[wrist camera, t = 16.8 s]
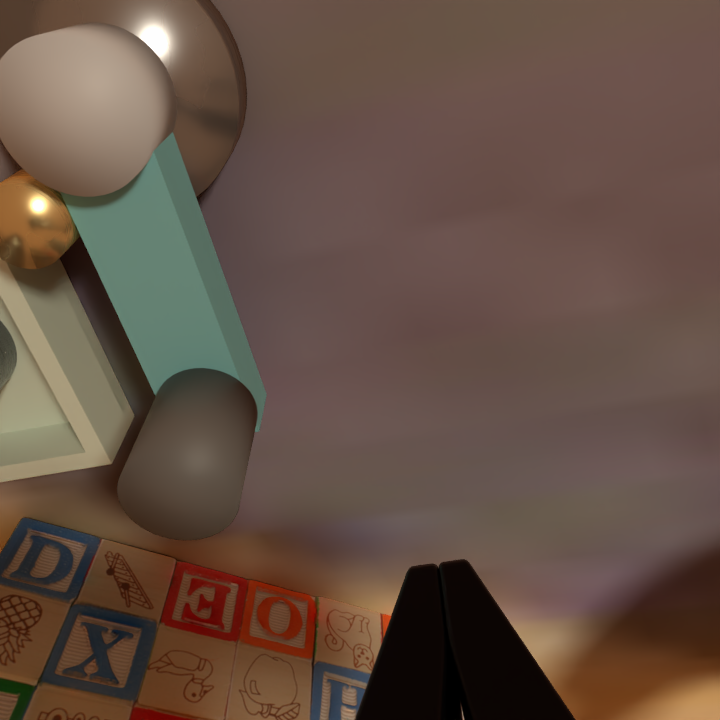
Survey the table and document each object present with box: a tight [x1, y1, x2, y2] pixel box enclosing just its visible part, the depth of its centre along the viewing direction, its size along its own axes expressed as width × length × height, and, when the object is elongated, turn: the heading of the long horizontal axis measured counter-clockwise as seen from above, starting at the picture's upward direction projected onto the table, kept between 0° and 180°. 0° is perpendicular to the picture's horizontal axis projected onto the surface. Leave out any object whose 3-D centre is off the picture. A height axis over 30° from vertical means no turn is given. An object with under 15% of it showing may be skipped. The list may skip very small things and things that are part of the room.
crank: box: [0, 22, 267, 540], centre depth 15 cm, size 11×3×5 cm, turn 12°
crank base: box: [0, 0, 247, 269], centre depth 15 cm, size 6×6×4 cm
